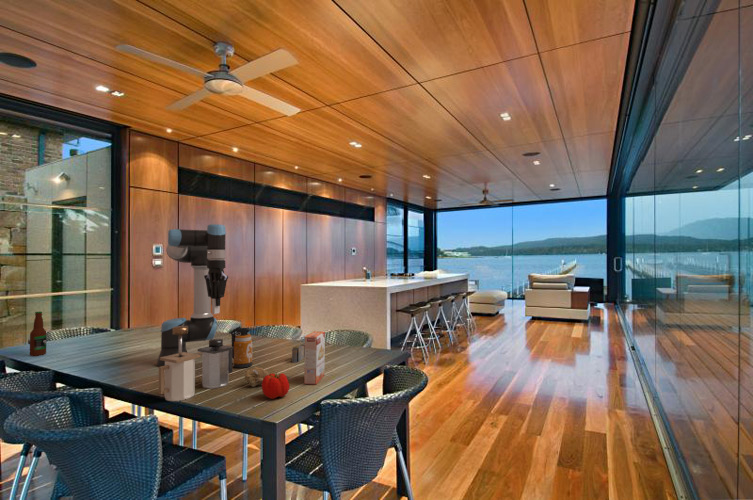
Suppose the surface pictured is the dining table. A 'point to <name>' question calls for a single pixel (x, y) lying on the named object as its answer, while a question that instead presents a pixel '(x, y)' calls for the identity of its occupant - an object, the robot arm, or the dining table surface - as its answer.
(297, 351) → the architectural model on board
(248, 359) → the canister
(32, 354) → the bottle
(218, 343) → the steel plunger
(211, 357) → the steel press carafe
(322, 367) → the cracker box
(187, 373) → the ceramic press carafe
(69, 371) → the dining table surface
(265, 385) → the tomato
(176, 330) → the brass press plunger
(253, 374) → the seashell
